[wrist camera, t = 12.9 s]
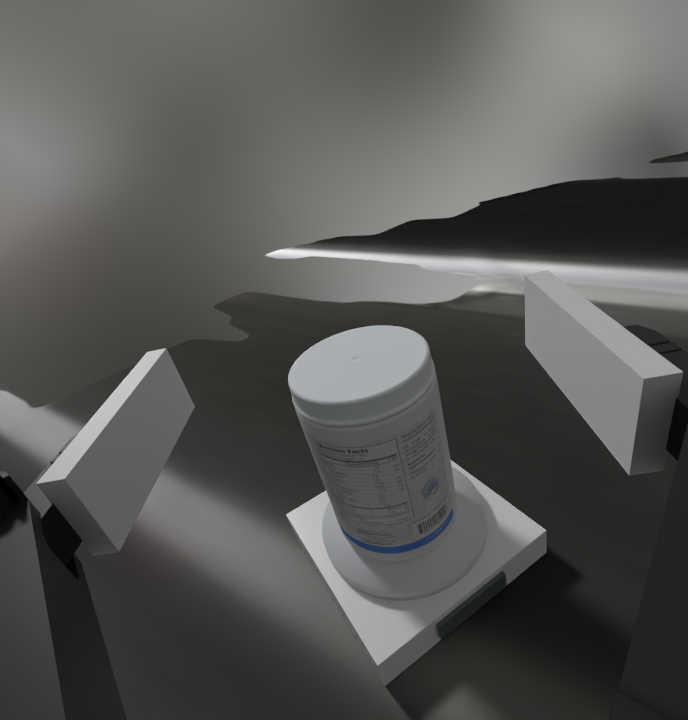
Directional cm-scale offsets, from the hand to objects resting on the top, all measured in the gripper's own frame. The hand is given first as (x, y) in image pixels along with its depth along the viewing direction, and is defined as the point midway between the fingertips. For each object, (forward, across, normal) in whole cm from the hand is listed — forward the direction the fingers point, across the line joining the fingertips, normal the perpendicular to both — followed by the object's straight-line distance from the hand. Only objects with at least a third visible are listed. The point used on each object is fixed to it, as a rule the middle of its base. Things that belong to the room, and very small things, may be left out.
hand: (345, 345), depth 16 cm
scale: (+10, 0, -24) cm, 26 cm away
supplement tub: (+10, 0, -21) cm, 23 cm away
